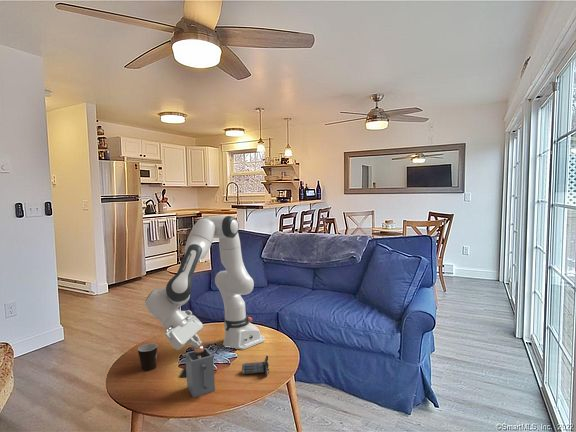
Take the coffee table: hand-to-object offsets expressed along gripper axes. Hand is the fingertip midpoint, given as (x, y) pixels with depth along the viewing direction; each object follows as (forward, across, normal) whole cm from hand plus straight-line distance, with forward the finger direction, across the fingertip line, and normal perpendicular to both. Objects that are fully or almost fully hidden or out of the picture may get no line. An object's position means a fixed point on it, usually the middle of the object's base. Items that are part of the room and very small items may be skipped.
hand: (199, 345), depth 147 cm
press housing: (+13, -1, +13) cm, 19 cm away
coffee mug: (-11, +15, +36) cm, 41 cm away
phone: (+5, +16, +22) cm, 28 cm away
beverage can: (+27, +16, +1) cm, 31 cm away
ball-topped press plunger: (+9, 0, +11) cm, 14 cm away
